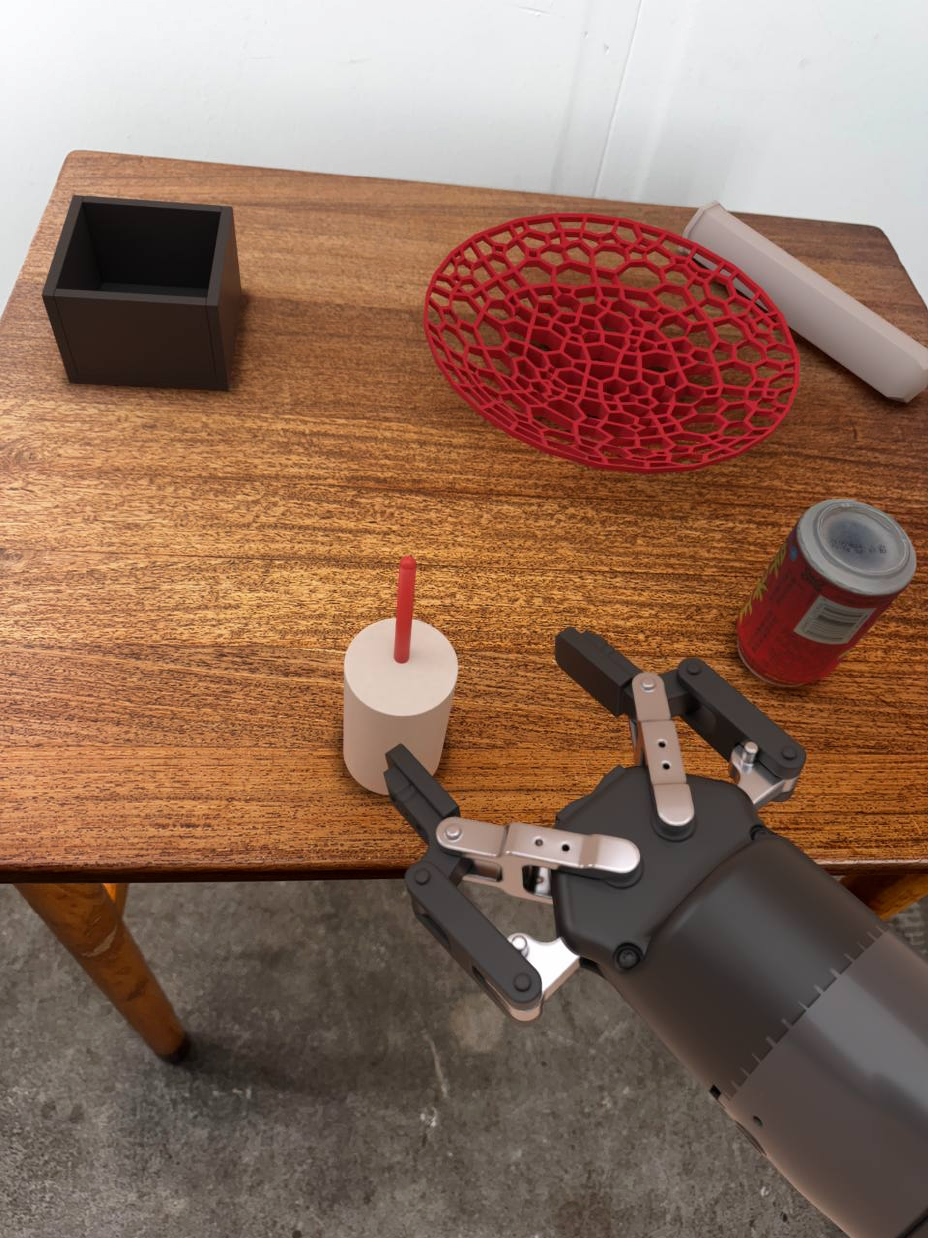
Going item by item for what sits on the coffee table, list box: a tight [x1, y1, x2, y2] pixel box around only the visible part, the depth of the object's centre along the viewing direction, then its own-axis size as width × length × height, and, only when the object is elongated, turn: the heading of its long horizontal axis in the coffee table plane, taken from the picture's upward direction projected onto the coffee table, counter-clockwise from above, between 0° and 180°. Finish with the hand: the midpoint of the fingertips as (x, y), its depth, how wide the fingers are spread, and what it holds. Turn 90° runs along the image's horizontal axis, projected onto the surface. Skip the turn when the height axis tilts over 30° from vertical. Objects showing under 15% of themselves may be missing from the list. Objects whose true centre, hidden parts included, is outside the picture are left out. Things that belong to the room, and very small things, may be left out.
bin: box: [40, 194, 243, 392], centre depth 69 cm, size 12×12×8 cm
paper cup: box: [342, 555, 459, 796], centre depth 48 cm, size 6×6×16 cm
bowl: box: [422, 212, 801, 475], centre depth 73 cm, size 29×30×5 cm
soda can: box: [736, 498, 917, 688], centre depth 57 cm, size 7×7×12 cm
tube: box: [677, 199, 928, 404], centre depth 80 cm, size 5×5×25 cm
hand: (480, 699), depth 37 cm, fingers open, 8 cm apart
